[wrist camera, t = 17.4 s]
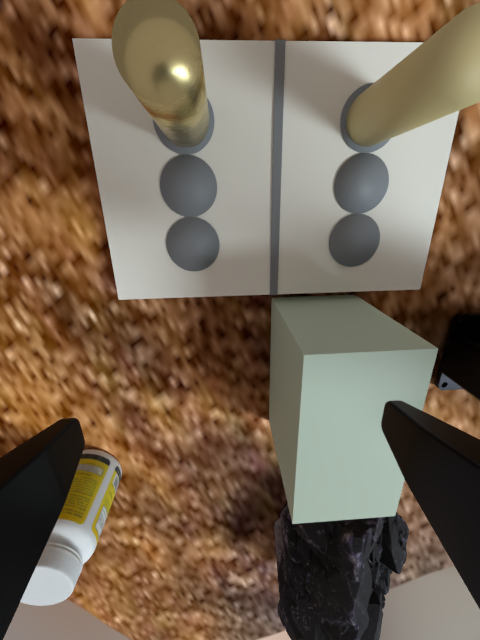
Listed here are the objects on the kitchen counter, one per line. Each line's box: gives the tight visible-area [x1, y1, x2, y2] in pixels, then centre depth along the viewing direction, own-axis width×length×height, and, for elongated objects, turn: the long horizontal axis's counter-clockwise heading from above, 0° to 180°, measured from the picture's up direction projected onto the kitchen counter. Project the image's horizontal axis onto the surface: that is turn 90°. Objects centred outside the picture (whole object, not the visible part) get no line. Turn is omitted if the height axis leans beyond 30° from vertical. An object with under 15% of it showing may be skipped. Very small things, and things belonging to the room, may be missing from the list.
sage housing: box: [269, 295, 438, 524], centre depth 18 cm, size 6×11×8 cm, turn 1°
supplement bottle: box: [20, 449, 122, 606], centre depth 21 cm, size 5×5×8 cm
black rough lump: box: [274, 504, 409, 640], centre depth 25 cm, size 13×14×10 cm
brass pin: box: [112, 0, 210, 148], centre depth 12 cm, size 3×3×7 cm
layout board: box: [72, 3, 480, 300], centre depth 14 cm, size 20×13×8 cm, turn 91°
